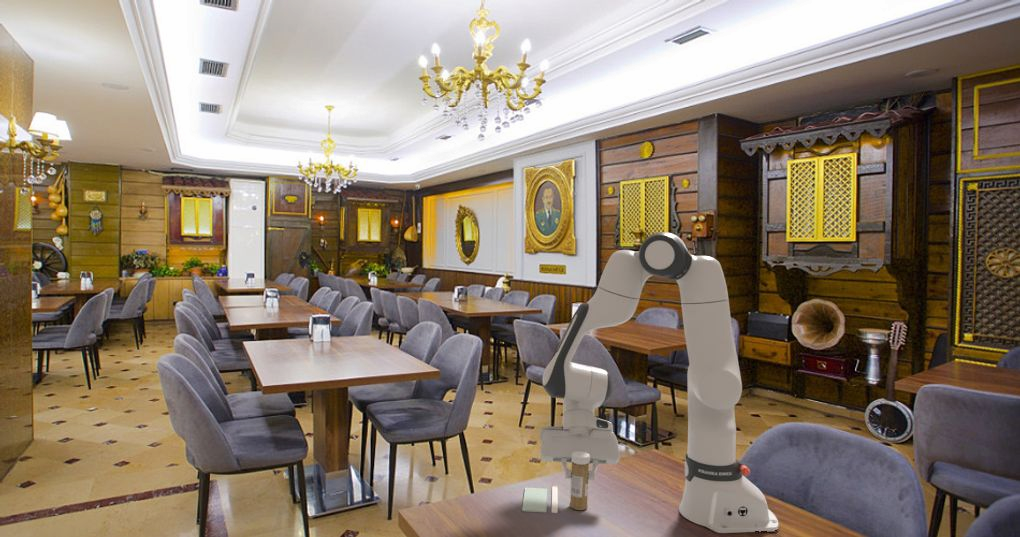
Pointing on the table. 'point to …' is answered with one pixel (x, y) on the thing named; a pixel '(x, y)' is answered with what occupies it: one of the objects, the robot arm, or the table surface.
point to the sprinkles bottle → (579, 480)
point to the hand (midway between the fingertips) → (579, 478)
